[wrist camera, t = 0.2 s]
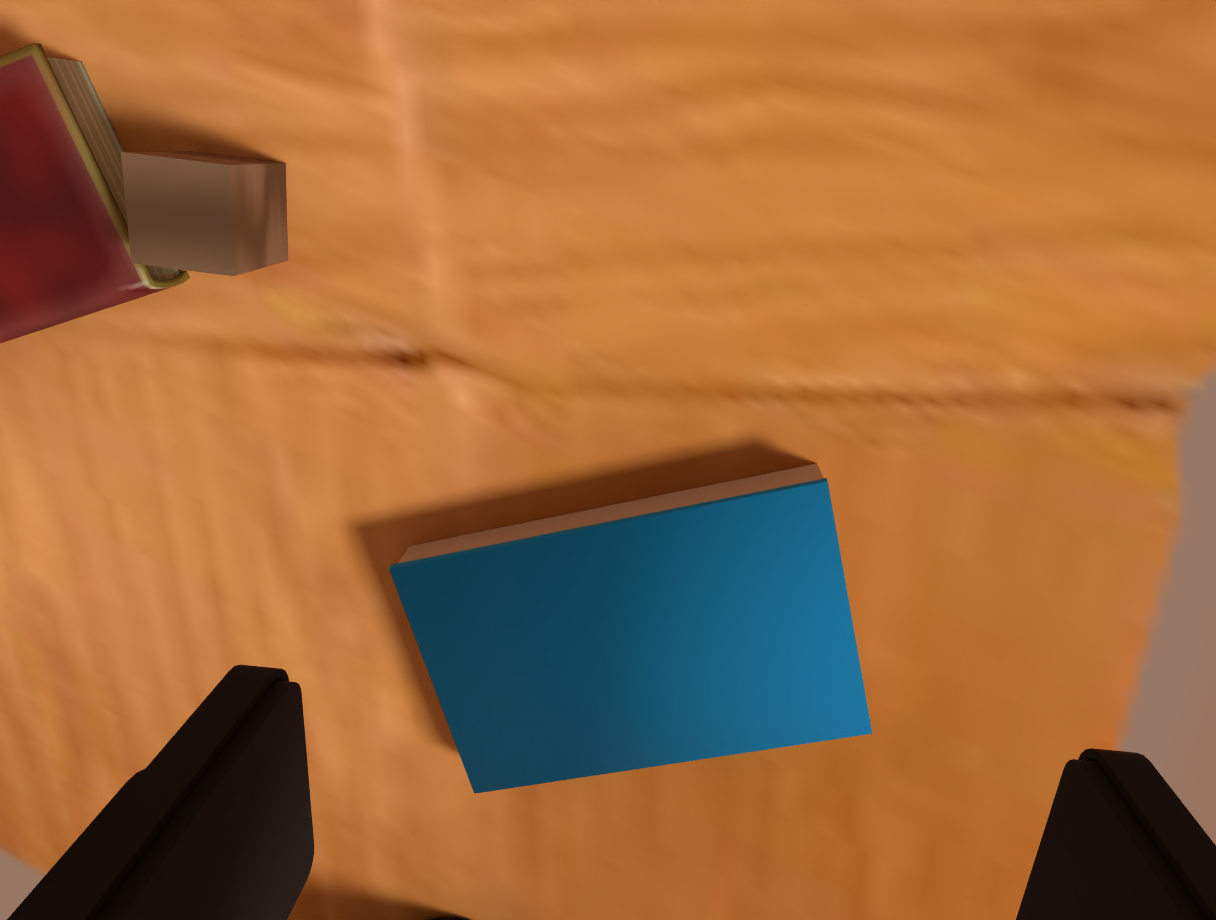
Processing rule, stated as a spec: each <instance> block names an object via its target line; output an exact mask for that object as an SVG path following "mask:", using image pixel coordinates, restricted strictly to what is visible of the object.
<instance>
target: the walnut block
mask: <svg viewBox="0 0 1216 920" xmlns="http://www.w3.org/2000/svg"><path fill="white" fill-rule="evenodd" d="M121 159H122V170H123V180H124V191H125V202H126V213H127V224H128V234H129V245H130V256H131V263H134V264H142V265H150V266H158V267H165V268H173V269H181V270H189V271H197V272H205V273H213V274H221V275H229V276H236V275H239V274H243V273H246V272H250V271H253V270H257V269H260V268H263V267H267V266H270V265H274V264H277V263H281V262H284V261H288V236H287V198H286V163H282V162H274V161H266V160H257V159H249V158H241V157H233V156H225V155H216V154H208V153H200V152H192V151H191V152H121Z"/></svg>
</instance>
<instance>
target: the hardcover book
mask: <svg viewBox="0 0 1216 920" xmlns="http://www.w3.org/2000/svg"><path fill="white" fill-rule="evenodd" d="M121 152H124V151H123V149H122V146H121V144H120V142H119V140H118V138H117V136H116V134H115V131H114V129H113V127H112V125H111V123H110V121H109V119H108V116H107V114H106V112H105V110H104V108H103V106H102V104H101V101H100V99H99V97H98V95H97V93H96V91H95V89H94V86H93V84H92V82H91V80H90V78H89V76H88V74H87V71H86V69H85V67H84V65H83V63H82V62H81V61H73V60H66V59H59V58H52V57H47V56H46V54H45V52H44V50H43V48H42V46H41V44H37V43H34V44H31V45H29V46H26V47H24V48H21V49H19V50H16V51H14V52H11V53H9V54H6V55H4V56H1V57H0V343H3V342H6V341H9V340H12V339H15V338H18V337H21V336H24V335H27V334H30V333H33V332H36V331H39V330H42V329H45V328H48V327H51V326H54V325H57V324H61V323H64V322H67V321H70V320H73V319H76V318H79V317H82V316H85V315H88V314H91V313H94V312H97V311H100V310H103V309H106V308H109V307H112V306H115V305H118V304H121V303H124V302H128V301H131V300H134V299H137V298H140V297H143V296H146V295H149V294H152V293H155V292H158V291H161V290H164V289H167V288H170V287H173V286H176V285H179V284H181V283H184V282H185V281H186V280H188V279H189V278H190V277H189V275H188V273H187V271H185V272H182V273H180V271H179V269H173V268H165V267H158V266H150V265H142V264H134V263H131V256H130V245H129V234H128V224H127V213H126V202H125V191H124V180H123V170H122V159H121Z"/></svg>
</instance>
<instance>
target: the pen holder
mask: <svg viewBox="0 0 1216 920" xmlns="http://www.w3.org/2000/svg"><path fill="white" fill-rule="evenodd" d="M431 920H463V919H457V918H437V919H431Z"/></svg>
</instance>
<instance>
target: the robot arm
mask: <svg viewBox="0 0 1216 920" xmlns="http://www.w3.org/2000/svg"><path fill="white" fill-rule="evenodd" d="M313 856H314V838H313V826H312V814H311V802H310V790H309V777H308V765H307V753H306V741H305V729H304V717H303V705H302V693H301V688H300V686H299V684H298V683H296V682H289V678H288V675H287V673H286V671H285V670H283V669H278V668H268V667H258V666H248V665H237V666H234V667H233V668H232V669H231V670H230V671H229V672H228V673H227V674H226V675H225V677H224V678H223V679H222V680H221V681H220V682H219V684H218V685H217V686H216V687H215V688H214V689H213V691H212V692H211V693H210V694H209V695H208V696H207V698H206V699H205V700H204V701H203V702H202V703H201V705H200V706H199V707H198V708H197V709H196V710H195V712H194V713H193V714H192V715H191V716H190V717H189V719H188V720H187V721H186V722H185V723H184V724H183V726H182V727H181V728H180V729H179V730H178V731H177V733H176V734H175V735H174V736H173V737H172V738H171V740H170V741H169V742H168V743H167V744H166V745H165V747H164V748H163V749H162V750H161V751H160V752H159V754H158V755H157V756H156V757H155V758H154V759H153V761H152V762H151V763H150V764H149V765H148V766H147V768H146V769H144V770H141V771H139V772H137V773H136V774H135V775H134V776H133V777H132V778H131V779H129V780H128V781H127V782H126V783H125V785H124V786H123V787H122V788H121V789H120V790H119V791H118V793H117V794H116V795H115V796H114V797H113V798H112V799H111V801H110V802H109V803H108V804H107V805H106V806H105V808H104V809H103V810H102V811H101V812H100V813H99V814H98V816H97V817H96V818H95V819H94V820H93V821H92V823H91V824H90V825H89V826H88V827H87V828H86V829H85V831H84V832H83V833H82V834H81V835H80V836H79V837H78V839H77V840H76V841H75V842H74V843H73V844H72V846H71V847H70V848H69V849H68V850H67V851H66V852H65V854H64V855H63V856H62V857H61V858H60V859H59V860H58V862H57V863H56V864H55V865H54V866H53V867H52V869H51V870H50V871H49V872H48V873H47V874H46V875H45V877H44V878H43V879H42V880H41V881H40V882H39V884H38V885H37V886H36V887H35V888H34V889H33V891H32V892H31V893H30V894H29V895H28V896H27V897H26V899H25V900H24V901H23V902H22V903H21V904H20V906H19V907H18V908H17V909H16V910H15V911H14V912H13V913H12V915H11V916H10V917H9V918H8V919H7V920H287V918H288V916H289V914H290V912H291V910H292V908H293V906H294V904H295V902H296V900H297V898H298V896H299V894H300V892H301V890H302V889H303V887H304V885H305V883H306V880H307V878H308V876H309V873H310V870H311V866H312V862H313ZM1016 920H1216V846H1215V844H1214V843H1213V842H1212V840H1211V839H1210V838H1209V837H1208V836H1207V834H1206V833H1205V831H1204V830H1203V829H1202V828H1201V826H1200V825H1199V824H1198V822H1197V821H1196V820H1195V819H1194V817H1193V816H1192V815H1191V813H1190V812H1189V811H1188V810H1187V808H1186V807H1185V806H1184V804H1183V803H1182V802H1181V801H1180V799H1179V798H1178V797H1177V795H1176V794H1175V793H1174V792H1173V790H1172V789H1171V788H1170V786H1169V785H1168V784H1167V782H1166V781H1165V780H1164V779H1163V777H1162V776H1161V775H1160V773H1159V772H1158V771H1157V770H1156V769H1155V767H1154V766H1153V765H1152V763H1151V762H1150V761H1149V760H1148V759H1147V758H1146V757H1145V756H1144V755H1141V754H1139V753H1132V752H1122V751H1112V750H1102V749H1092V748H1091V749H1086V750H1085V751H1084V752H1083V753H1081V755H1080V757H1079V759H1078V760H1075V759H1074V760H1070V761H1068V762H1067V763H1066V765H1065V767H1064V770H1063V773H1062V776H1061V779H1060V782H1059V786H1058V789H1057V792H1056V795H1055V798H1054V801H1053V804H1052V808H1051V811H1050V814H1049V817H1048V820H1047V823H1046V827H1045V830H1044V833H1043V836H1042V839H1041V842H1040V846H1039V849H1038V852H1037V855H1036V858H1035V861H1034V864H1033V868H1032V871H1031V874H1030V877H1029V880H1028V883H1027V887H1026V890H1025V893H1024V896H1023V899H1022V902H1021V906H1020V909H1019V912H1018V915H1017V918H1016Z"/></svg>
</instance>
